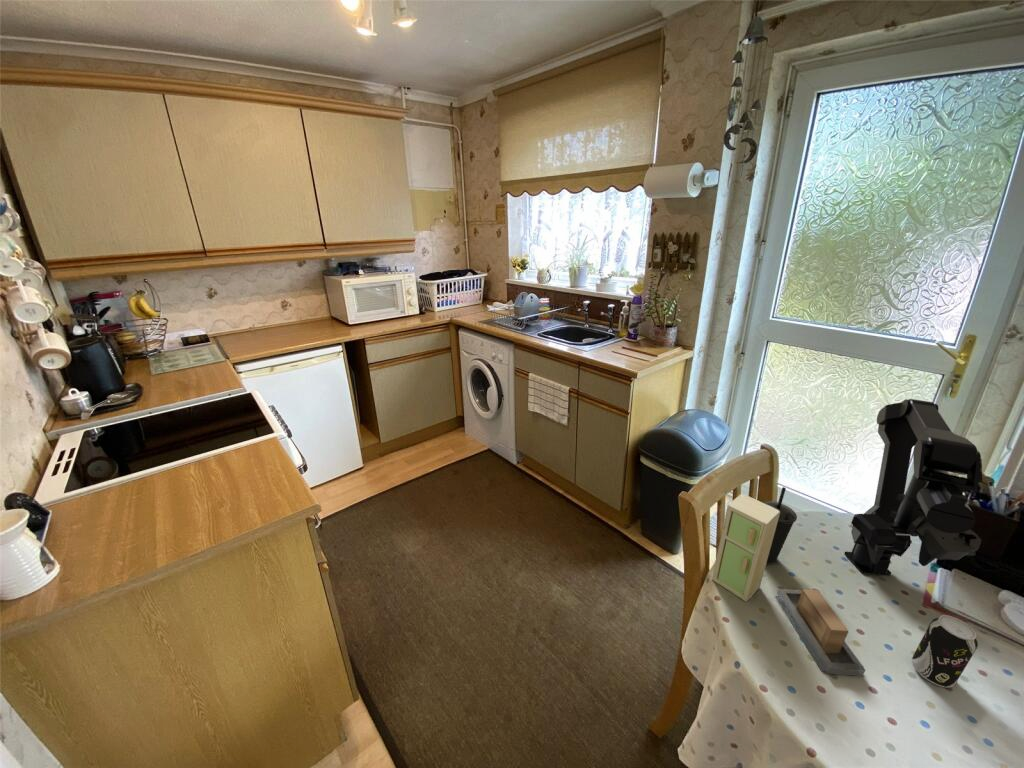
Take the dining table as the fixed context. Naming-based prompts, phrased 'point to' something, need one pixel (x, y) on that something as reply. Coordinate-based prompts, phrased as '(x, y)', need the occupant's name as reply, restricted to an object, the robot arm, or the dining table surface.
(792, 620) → the frame
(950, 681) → the beverage can
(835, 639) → the wooden block
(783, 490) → the drinking cup
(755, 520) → the toy refrigerator
